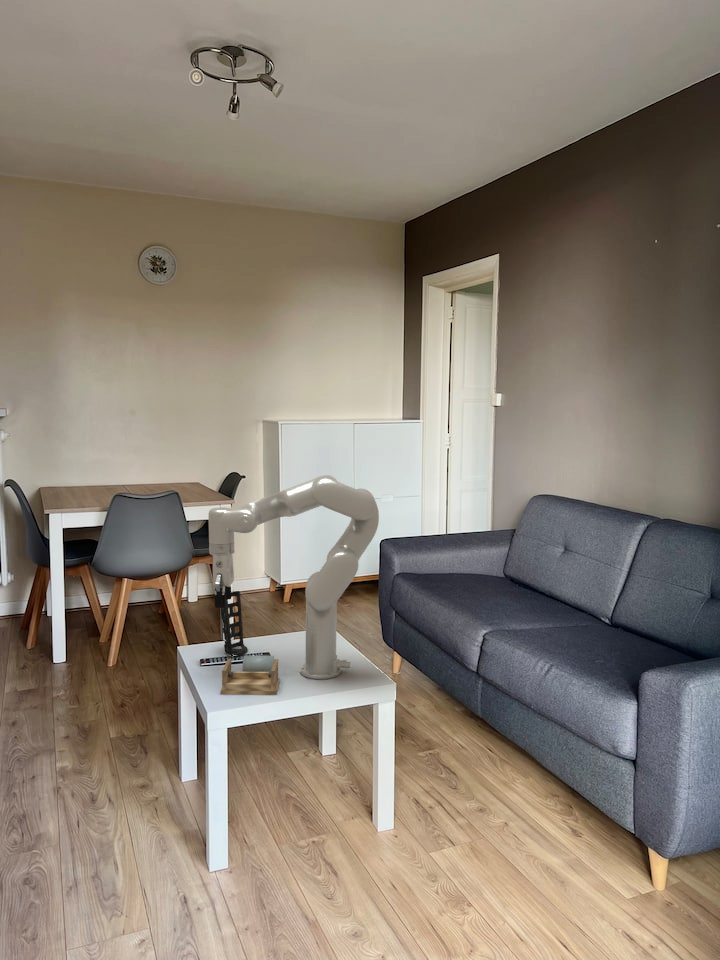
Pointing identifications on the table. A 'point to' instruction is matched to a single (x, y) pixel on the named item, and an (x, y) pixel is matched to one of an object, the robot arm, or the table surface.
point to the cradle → (250, 681)
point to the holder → (233, 626)
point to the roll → (258, 663)
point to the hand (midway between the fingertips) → (223, 603)
